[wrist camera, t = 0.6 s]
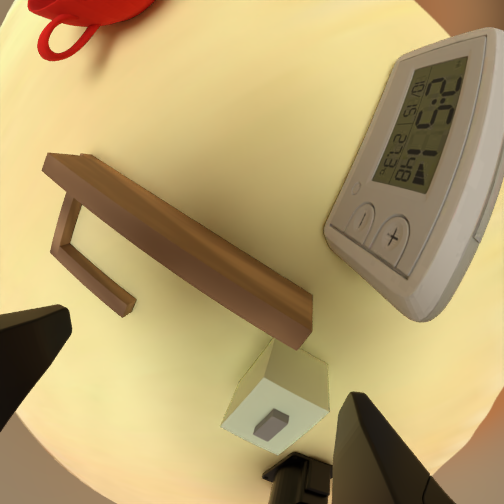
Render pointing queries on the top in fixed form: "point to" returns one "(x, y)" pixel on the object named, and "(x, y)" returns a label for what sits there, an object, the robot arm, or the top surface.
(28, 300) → the top surface
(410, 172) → the digital clock
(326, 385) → the cabinet block
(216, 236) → the wall board
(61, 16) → the ceramic cup
